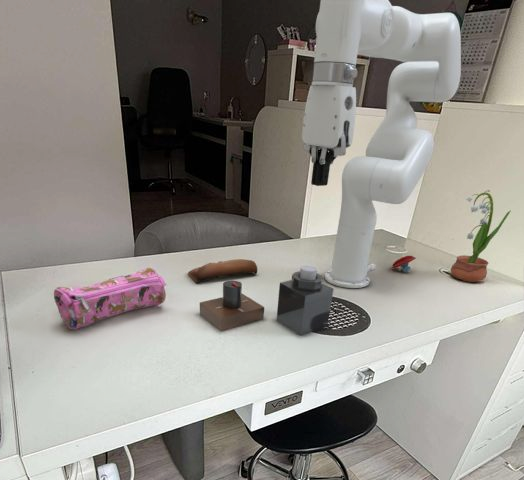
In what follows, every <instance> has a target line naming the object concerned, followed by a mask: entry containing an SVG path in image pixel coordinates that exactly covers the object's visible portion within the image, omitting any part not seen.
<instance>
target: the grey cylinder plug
mask: <svg viewBox="0 0 524 480" xmlns="http://www.w3.org/2000/svg"><path fill="white" fill-rule="evenodd" d="M299 271H300V277H299V278H301V279H305V280H315V279H316V275H317V273H318V268H317V267H316V266H313V265H302V266H300V269H299Z"/></svg>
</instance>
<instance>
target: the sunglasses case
mask: <svg viewBox="0 0 524 480" xmlns="http://www.w3.org/2000/svg"><path fill="white" fill-rule="evenodd" d="M257 265H258V264H257V263H256V262H255V261H254V260H251V259H245V258H244V259H242V258H237V259H229V260H224V261H222V260H221V261H218V262H208V263H206V264H204V265H202V266H199V267H196V268H193V269H191V270H189V271H188V272H187V275H188V276H189V277H190V278H191V280H192V281H193V282H194V283H195V284H197V283H198V282H204V281H209V280H213V279H218V278H221V277H224V278H225V277H231V276H235V275H236V276H237V275H238V276H239V275H246V274H252V273H253V274H255V275H257V273H258V266H257Z"/></svg>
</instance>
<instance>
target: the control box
mask: <svg viewBox="0 0 524 480" xmlns="http://www.w3.org/2000/svg"><path fill="white" fill-rule="evenodd" d="M199 315H200V317H202V318H203V319H204V320H206V321H207V322H208V323H210V324H211V325H212V326H213V327H215V328H216V329H218V330H219V331H220V332H224V331H228V330H231V329H234V328H238V327H242V326H246V325H248V324H252V323H255V322H259V321H262V320H264V318H265V306H264V305H262V304H260V303H258V302H256V301H255V300H253V299H252V298H251V297H249V296H247V295H245V294H244V293H242V296H241V306H240V307H238V308H227V307H225V306H223V296H222V297H221V296H220V297H218V298H212V299H208V300H204V301H200V302H199Z"/></svg>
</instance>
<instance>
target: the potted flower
mask: <svg viewBox="0 0 524 480" xmlns="http://www.w3.org/2000/svg"><path fill="white" fill-rule="evenodd" d="M490 192H491V191H490V189H489V190H485V191H484V192H481V193H479V194H478V193H474V194H472V195H468V196H467V198H466V199H465V200H466V201H467V202H469V203H471V201H472V200H473V196H476V197H475V199H474V201H473V205H472V206H471V208H470V210H471V213H476V212H478V211H479V210H481V212H480V213H481V214H484V217H483V218H481V219H480V221H479V225H477V226H474V228H472V230H471V231H470V232H469V233H467V235H466V239H467V240H473V239H474V240H473V242H472V255H458V256H456V260H455V262H454V263H453V264H452V266H450V267H451V268H450V273H451V275H452V276H453V277H454V278H455V279H457V280H460V281H462V282H463V281H464V282H468V283H469V282H470V283H478V282H482V281H483V280H484V279H486V278H487V274H488V270H487V268H488V265H489V264H490V263H489V261H488V260H486V259H484V258H481V257H479V256H480V254H482V252H483V251H485V249H486V248H487V247H488V245H489V243H490V242H491V240H492V239H493V238H494V237H495V236H496V234H497V233H498V232H499V230H500V229H501V227H502V226H503V224H504V223H505V221H506V220H507V218H508V216H509V215H510V213H511V212H512V210H511V209H510V210H509V211H507V212H506V213H505V215H504V217H503V218H502V220H501V221H500V222H499V223H498V225H497V227H495V229H493V230H492V231H491V232H490V228H491V225H492V220H493V214H494V199H493V196H492V195H491V193H490ZM481 196H483V197H484V196H486V197H485V198H484V199H483V200H482V202H481V203H479V205H475V204H476V202H477V200H478V199H479V198H480V197H481ZM486 199H489V201H486V202H484V201H485V200H486ZM487 219H488V220H487ZM478 227H480V228H479V229H478V231H477V233H476V235H474V233H473V231H475V229H476V228H478ZM474 236H475V237H474Z"/></svg>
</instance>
